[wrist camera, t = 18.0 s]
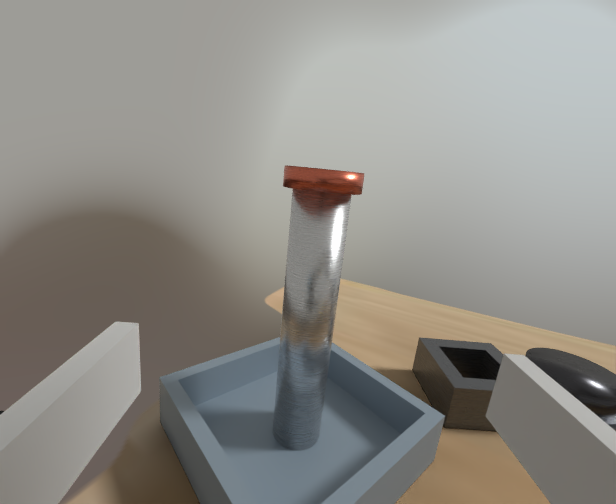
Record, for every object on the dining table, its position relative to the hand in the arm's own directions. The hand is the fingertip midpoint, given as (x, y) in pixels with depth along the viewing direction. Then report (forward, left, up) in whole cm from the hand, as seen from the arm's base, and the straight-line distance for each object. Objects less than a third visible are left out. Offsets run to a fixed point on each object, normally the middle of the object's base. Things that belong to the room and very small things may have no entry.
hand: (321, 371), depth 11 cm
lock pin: (-6, -7, -12) cm, 15 cm away
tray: (-6, -7, -13) cm, 16 cm away
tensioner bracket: (-28, +2, -13) cm, 31 cm away
